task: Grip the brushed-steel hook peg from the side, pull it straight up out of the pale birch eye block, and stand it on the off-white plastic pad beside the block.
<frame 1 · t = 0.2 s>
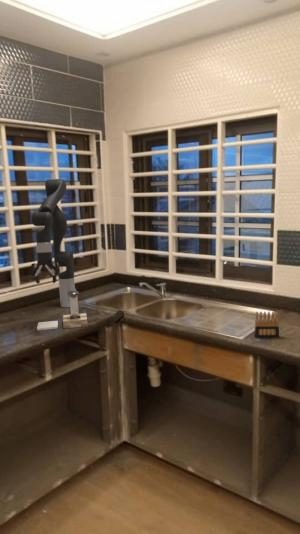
hand: (46, 283, 211), 22 cm above the countertop, tool pointing down, fingers open, 8 cm apart
eye block: (75, 323, 214), on the countertop
hand tool: (115, 322, 215), on the countertop
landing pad: (47, 326, 212), on the countertop
steel hook peg: (74, 308, 213), in the eye block
ammunition clip: (266, 337, 185), on the countertop
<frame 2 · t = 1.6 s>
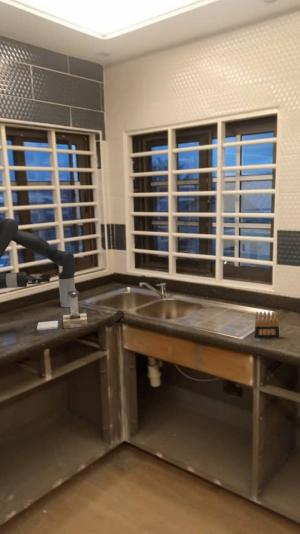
hand: (50, 277, 208), 25 cm above the countertop, tool horizontal, fingers open, 8 cm apart
nothing on the countertop moved.
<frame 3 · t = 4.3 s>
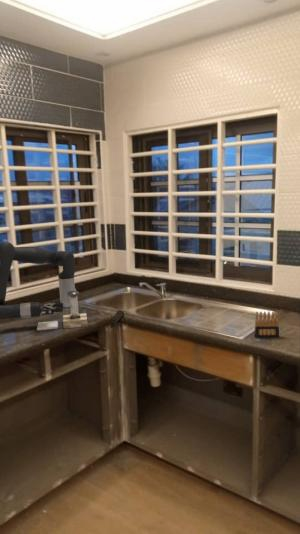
hand: (62, 307, 211), 9 cm above the countertop, tool horizontal, fingers open, 8 cm apart
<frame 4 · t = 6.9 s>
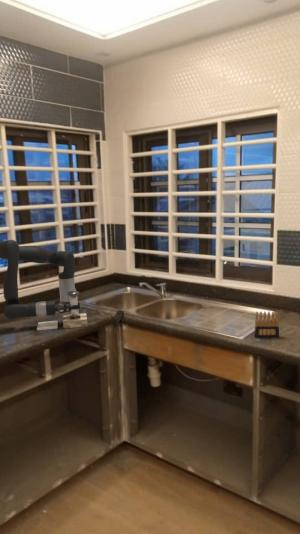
hand: (79, 305, 213), 9 cm above the countertop, tool horizontal, fingers closed on steel hook peg, 4 cm apart
steel hook peg: (74, 308, 213), in the eye block, touching gripper
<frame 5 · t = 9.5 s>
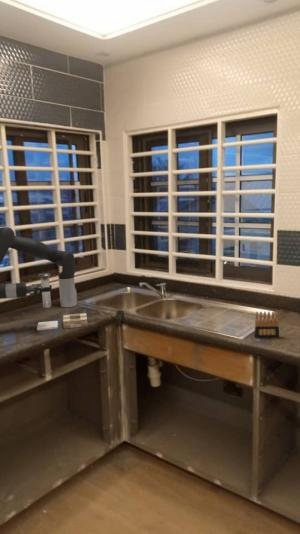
hand: (51, 288, 209), 20 cm above the countertop, tool horizontal, fingers closed on steel hook peg, 4 cm apart
steel hook peg: (45, 290, 208), point 19 cm above the countertop, touching gripper
when the fingers open (11 cm above the countertop, at t = 12.4 s): steel hook peg stays where it is, resting on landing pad.
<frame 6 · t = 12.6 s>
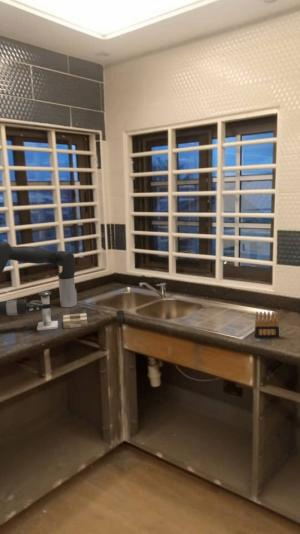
hand: (51, 304, 210), 12 cm above the countertop, tool horizontal, fingers open, 5 cm apart
steel hook peg: (46, 308, 210), on the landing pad, point 9 cm above the countertop
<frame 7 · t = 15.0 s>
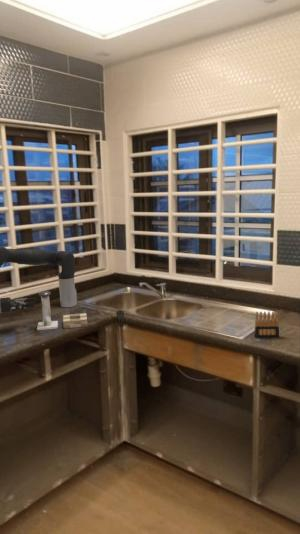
hand: (34, 302, 209), 13 cm above the countertop, tool horizontal, fingers open, 8 cm apart
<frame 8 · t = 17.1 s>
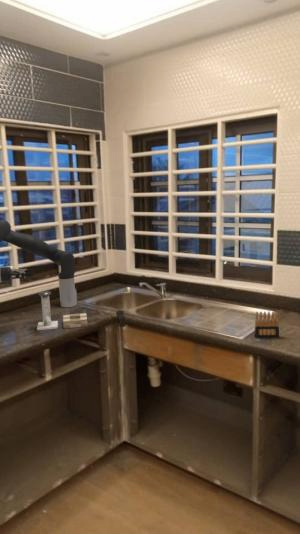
hand: (34, 272, 209), 28 cm above the countertop, tool horizontal, fingers open, 8 cm apart
at the end: steel hook peg inside the target area on the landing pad (0.0 cm from its centre), point 9.4 cm above the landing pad's base; steel hook peg tilted 0°; the gripper is holding nothing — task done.
